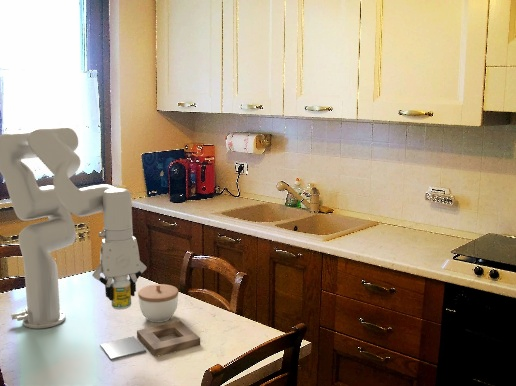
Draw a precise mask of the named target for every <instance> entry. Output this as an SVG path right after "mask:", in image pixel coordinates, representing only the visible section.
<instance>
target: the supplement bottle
mask: <svg viewBox="0 0 516 386" xmlns="http://www.w3.org/2000/svg"><path fill="white" fill-rule="evenodd" d="M128 278H129V275H125V276H119V277H113V279H112V283H111V286H112V287H113V300H112V301H111V307H112V308H113V309H114V310H117V311H118V310H126V309H129V308H130V307H131V306H132V296H131V285H130V281H129V279H128Z"/></svg>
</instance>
